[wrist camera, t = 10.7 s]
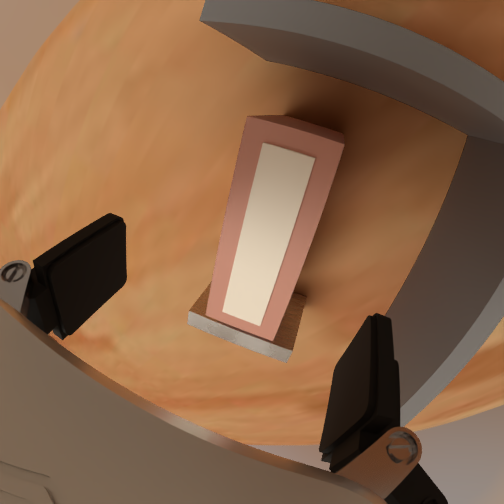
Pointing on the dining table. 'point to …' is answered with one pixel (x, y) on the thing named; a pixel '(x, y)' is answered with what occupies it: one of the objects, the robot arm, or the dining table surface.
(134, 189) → the dining table surface
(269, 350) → the bookend
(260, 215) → the boxed book
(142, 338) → the dining table surface
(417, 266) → the grey angle bracket
